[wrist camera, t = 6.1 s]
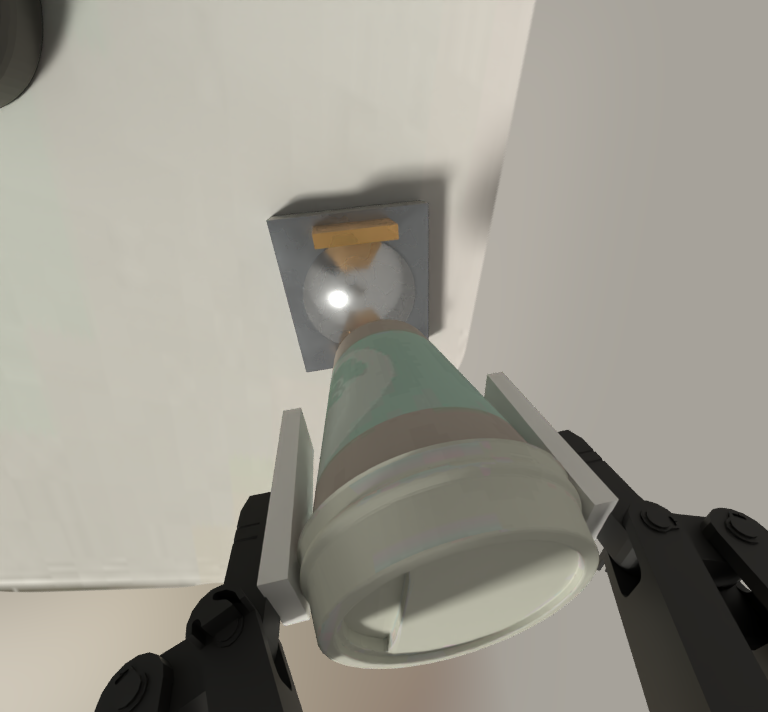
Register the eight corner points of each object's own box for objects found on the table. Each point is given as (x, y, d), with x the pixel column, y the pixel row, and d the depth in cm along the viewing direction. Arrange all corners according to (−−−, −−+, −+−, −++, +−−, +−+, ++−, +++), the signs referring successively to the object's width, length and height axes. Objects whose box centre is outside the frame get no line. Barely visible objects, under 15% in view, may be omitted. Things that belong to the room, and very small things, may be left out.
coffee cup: (364, 262, 15) (462, 463, 5) (480, 341, 18) (675, 551, 8) (280, 386, 17) (227, 682, 7) (395, 434, 21) (464, 674, 11)
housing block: (271, 216, 25) (258, 228, 20) (419, 200, 26) (443, 207, 21) (307, 359, 32) (305, 394, 27) (421, 340, 34) (439, 370, 29)
